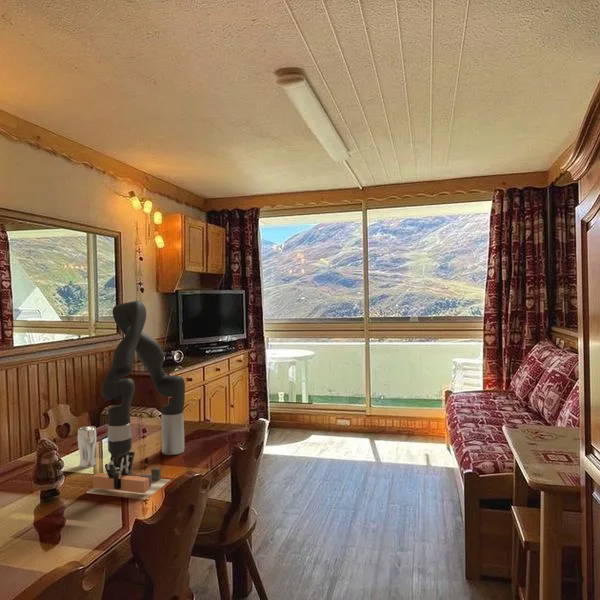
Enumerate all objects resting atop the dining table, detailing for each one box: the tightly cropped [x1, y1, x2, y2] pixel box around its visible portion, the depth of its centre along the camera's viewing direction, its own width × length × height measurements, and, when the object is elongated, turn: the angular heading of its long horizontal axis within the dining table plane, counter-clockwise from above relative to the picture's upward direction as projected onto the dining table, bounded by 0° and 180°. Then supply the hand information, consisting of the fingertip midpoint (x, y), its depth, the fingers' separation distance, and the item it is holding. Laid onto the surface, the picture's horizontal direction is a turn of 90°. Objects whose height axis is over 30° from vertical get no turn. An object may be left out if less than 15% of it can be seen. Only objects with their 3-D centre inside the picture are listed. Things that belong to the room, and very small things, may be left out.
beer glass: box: [77, 425, 97, 469], centre depth 191 cm, size 7×7×15 cm
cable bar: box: [92, 472, 149, 493], centre depth 161 cm, size 3×20×4 cm, turn 76°
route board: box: [86, 467, 171, 500], centre depth 167 cm, size 17×23×5 cm
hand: (120, 486), depth 161 cm, fingers closed on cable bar, 3 cm apart
